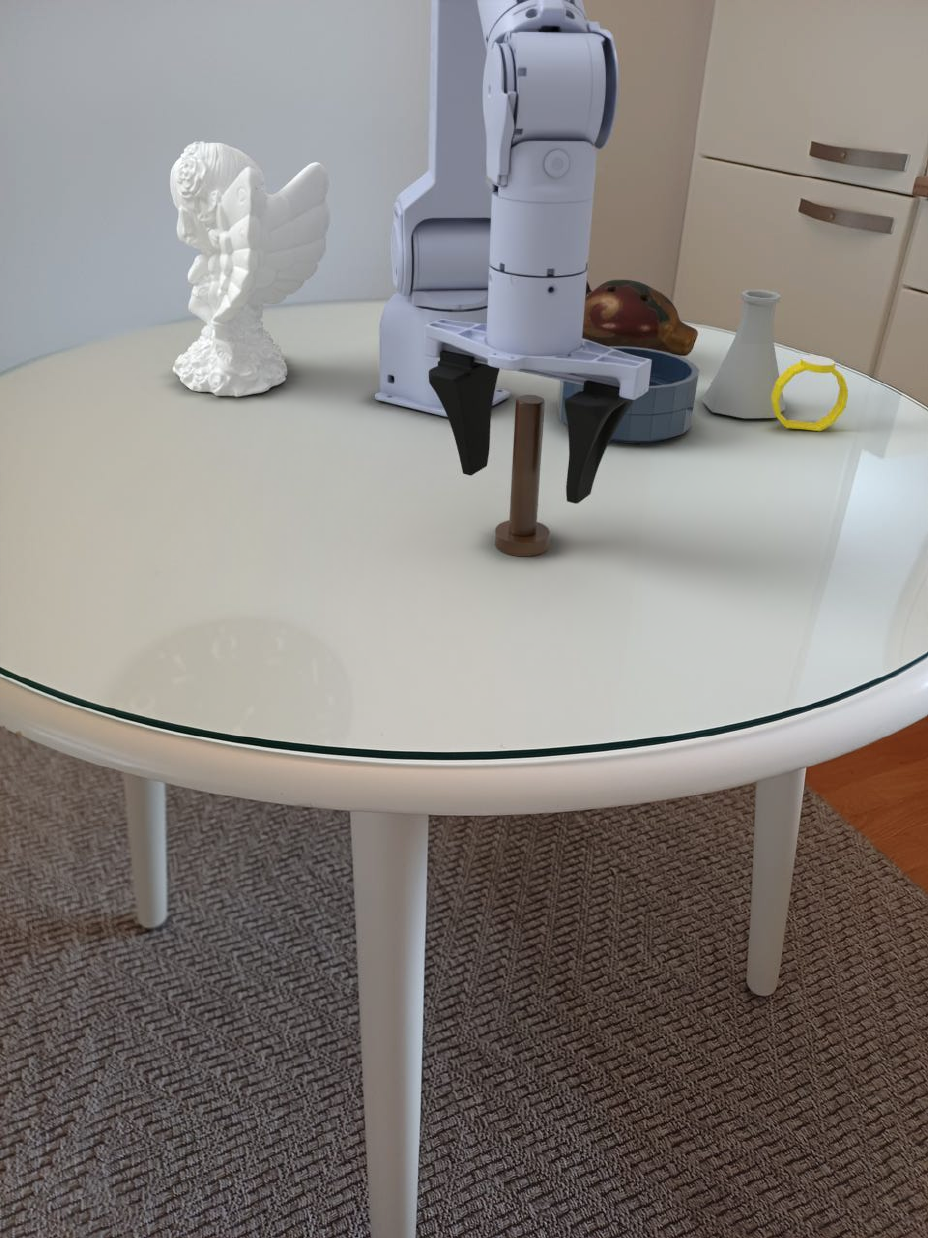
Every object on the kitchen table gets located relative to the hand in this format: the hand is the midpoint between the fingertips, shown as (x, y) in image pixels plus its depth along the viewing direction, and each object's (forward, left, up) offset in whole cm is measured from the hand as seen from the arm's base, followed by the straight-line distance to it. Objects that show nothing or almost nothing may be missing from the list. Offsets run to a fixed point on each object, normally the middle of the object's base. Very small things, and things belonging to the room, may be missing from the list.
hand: (525, 483), depth 70 cm
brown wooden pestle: (0, 0, -4) cm, 4 cm away
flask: (+3, +35, -5) cm, 35 cm away
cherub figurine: (-38, +16, -5) cm, 41 cm away
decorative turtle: (-12, +41, -5) cm, 43 cm away
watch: (+9, +33, -5) cm, 34 cm away
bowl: (-4, +25, -4) cm, 26 cm away
